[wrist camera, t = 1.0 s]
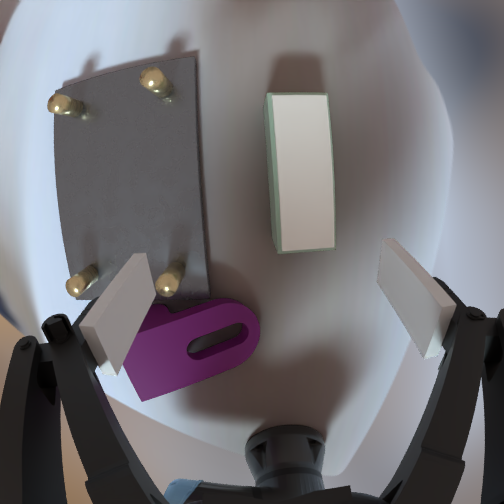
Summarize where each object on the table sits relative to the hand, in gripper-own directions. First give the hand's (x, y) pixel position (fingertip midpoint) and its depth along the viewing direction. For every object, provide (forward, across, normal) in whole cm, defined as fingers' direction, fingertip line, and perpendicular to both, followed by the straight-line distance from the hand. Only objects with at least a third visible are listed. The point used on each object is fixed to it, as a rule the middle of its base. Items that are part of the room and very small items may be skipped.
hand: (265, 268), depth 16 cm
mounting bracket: (+18, +10, +18) cm, 28 cm away
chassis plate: (+20, +17, -2) cm, 27 cm away
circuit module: (+21, -4, -2) cm, 22 cm away
